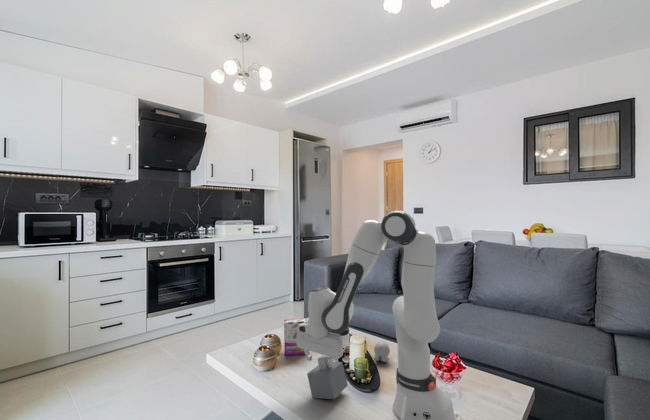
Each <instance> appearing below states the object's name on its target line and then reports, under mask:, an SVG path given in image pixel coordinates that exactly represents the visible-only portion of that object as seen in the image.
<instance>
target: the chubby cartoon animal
mask: <svg viewBox="0 0 650 420" xmlns="http://www.w3.org/2000/svg"><path fill="white" fill-rule="evenodd" d="M373 349H374V355H373V360H374V361H377V362H380V361H381V362H383V363H387V362H388V356H389V355H390V353H391V351H390V346H389V344H387V343H386V342H384V341H378V342H377V343H376V344H375V346H374V348H373Z"/></svg>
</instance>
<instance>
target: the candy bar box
mask: <svg viewBox="0 0 650 420" xmlns="http://www.w3.org/2000/svg"><path fill="white" fill-rule="evenodd" d="M306 321H307V318H292V319H291V318H289V319H287V318H286V319H284V323H283V324H284V329H283V331H284V334H283V335H284V336H283V337H284V356H285V357H289V356H304V355H305V356H306V354H305V352H304V349H302V348H299V347H298V346H297V344H296V337H297V332H298V329H297V327H298V326H299V325H300V324H302V323H304V322H306Z"/></svg>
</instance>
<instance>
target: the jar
mask: <svg viewBox="0 0 650 420" xmlns="http://www.w3.org/2000/svg"><path fill="white" fill-rule="evenodd" d="M339 335H341V336H342V339H343V342H342V344H343V348H345V347H347V346H349V347H350V327H349V326H348V327H347V329H346V330H345V331H344V332H342V333H339Z"/></svg>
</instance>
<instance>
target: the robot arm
mask: <svg viewBox="0 0 650 420" xmlns="http://www.w3.org/2000/svg"><path fill="white" fill-rule="evenodd" d="M389 240H390V241H391V242H394V243H395V244H398V245H401V246H403V261H402V270H401V281H400V283H401V288H402V294H403V295H400V296H398V297H396V298H395V300H394V301H393V303H392V313H393V318H394V319H393V320H394V328H395V336H396V343H397V368H396V371H395V373H396V374H395V376H396V377H395V379H396V391H395V392H396V393H395V398H394V402H393V405H392V410H393V412H394V414H395V415H396V417H397V418H399V420H461V419H462V418H461V415H460V413H459V411H458V410H456V409H454V405H453V402H452V401H453V400H452V399H451V397H450V396H449V395H447V393H445V392H444V391H443V390H442V389H441V388H440V387H439V386H438V385H437V374H435V375H433V374H432V372H431V349H430V347H429V344H430V343H432V342H434V341H435V340H436V339H437V338H438V337H439V335H440V331H441V325H440V322H439V318H438V316H437V308H436V299H435V298H436V297H435V278H436V276H435V274H436V265H437V246H436V240H435V238H434V236H433V235H432V234H430V233H428V232H425V231H420V230H418V229H417V228H416V222H415V219H414V218H413V217H412V216H411V214H409V213H408V212H406V211H403V210H393V211H390V212H388V213H387V214H385V215H384V217H383V218H382V220H381V221H379V220H374V219H367V220H364V221H363V222H362V223H361V225H360V227H359V228H358V230H357V231H356V233H355V235H354V238H353V240H352V242H351V245H350V248H349V251H348V254H347V259H346V263H345V268H344V272H343V276H342V279H341V281H340V283H339V286H338V288H337V291H336V292H334V291H332V290H331V289H330V288H329V287H325V286H318V287H314V288H313V289H312V290H311V291H310V292H309V294H308V303H307V311H308V320H306V322H304V323H302V324H300V325H299V326H298V327H297V329H298V332H297V337H296V344H297V346H298V347H299V348H302V349H304V352H305V354H306V355H305V356H306V361H307V362H311V361H312V359H313V355H312V354H311V352H312V353H315V354H319V355H321V356H328V359H329V361H328V362H327V367H332V362H334V360H339V359H340V358H342V357H343V356H344V355H343V344H342V342H343V339H342V336H341V335H339V333H342V332H344V331H345V330H346V329H347V327H349V324H350V322H351V320H352V317H353V315H354V312H355V307H356V306H355V304H354V302H353V301H354V298H355V296H356V293H357V291H358V288H359V286H360V284H361V283H362V281H363V280H364V279H365V278H366V277H367V275H368V274H369V273H370V272H371V270H372V269H373V267H374V266H375V264H376V263H377V260H378V259H379V256H380V254H381V251H382V248H383V246H384V245H385V243H386V242H388V241H389Z"/></svg>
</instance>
